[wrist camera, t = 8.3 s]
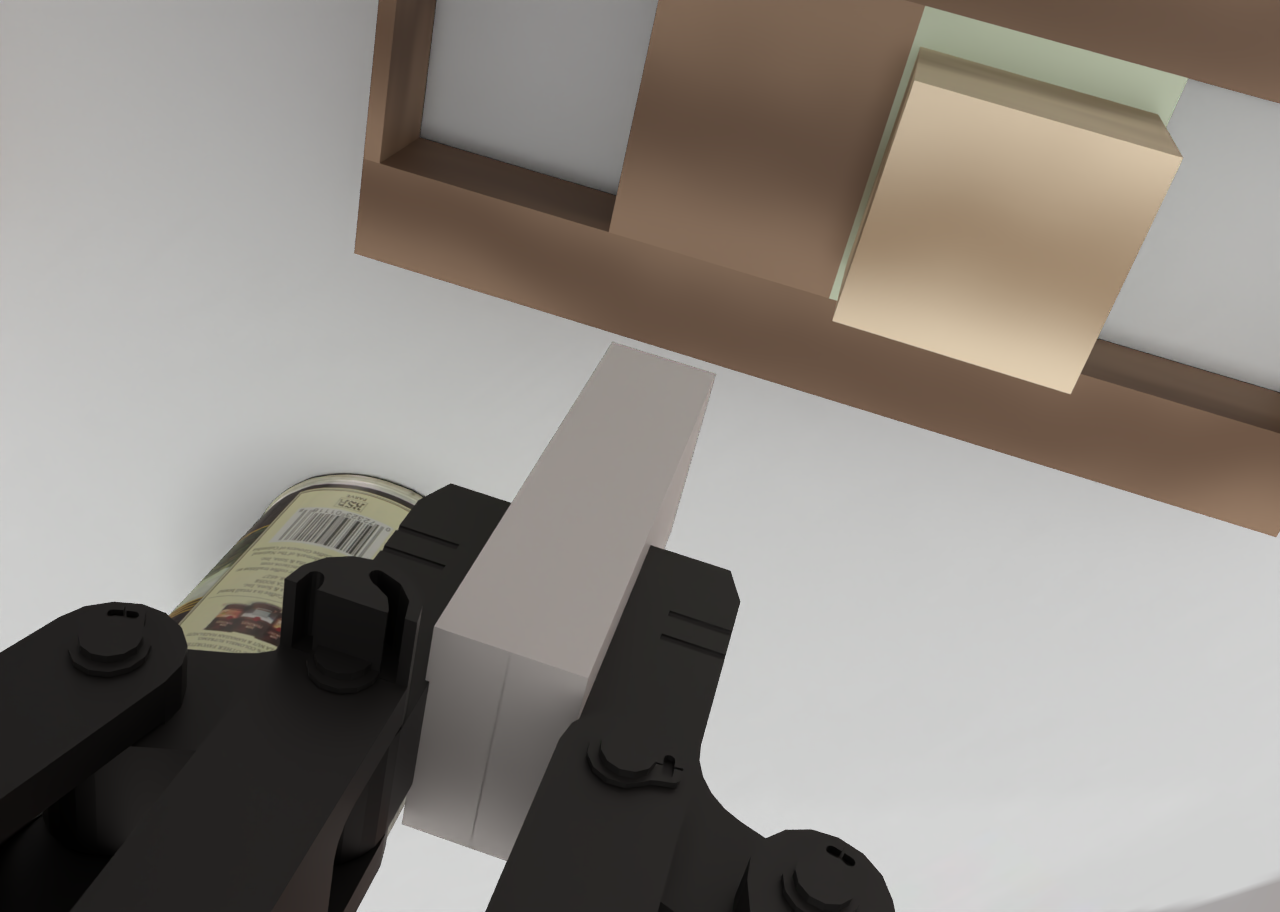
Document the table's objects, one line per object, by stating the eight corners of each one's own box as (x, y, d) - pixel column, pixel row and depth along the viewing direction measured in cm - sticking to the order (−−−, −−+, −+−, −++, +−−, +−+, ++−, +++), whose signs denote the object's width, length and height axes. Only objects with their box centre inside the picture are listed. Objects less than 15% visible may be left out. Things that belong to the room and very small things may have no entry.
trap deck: (450, -271, 32) (405, -276, 29) (1531, 14, 29) (1585, 36, 27) (394, 222, 39) (354, 253, 36) (1254, 484, 36) (1276, 537, 34)
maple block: (920, 46, 30) (914, 80, 27) (1158, 114, 29) (1182, 157, 26) (846, 265, 33) (832, 320, 30) (1059, 330, 33) (1070, 394, 29)
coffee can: (326, 705, 51) (128, 992, 39) (210, 499, 47) (-51, 747, 35) (543, 674, 47) (398, 981, 35) (438, 447, 43) (233, 705, 31)
